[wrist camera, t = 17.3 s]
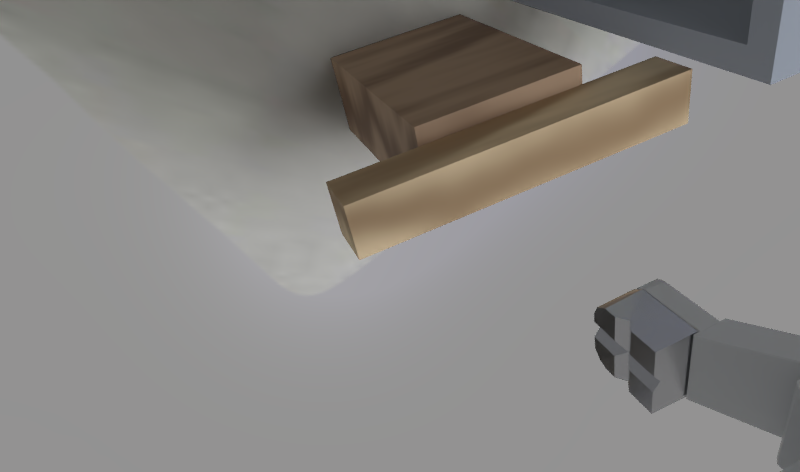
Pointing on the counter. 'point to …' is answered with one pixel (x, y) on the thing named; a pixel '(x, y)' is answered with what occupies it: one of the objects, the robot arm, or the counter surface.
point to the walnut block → (443, 82)
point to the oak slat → (508, 154)
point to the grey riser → (701, 30)
